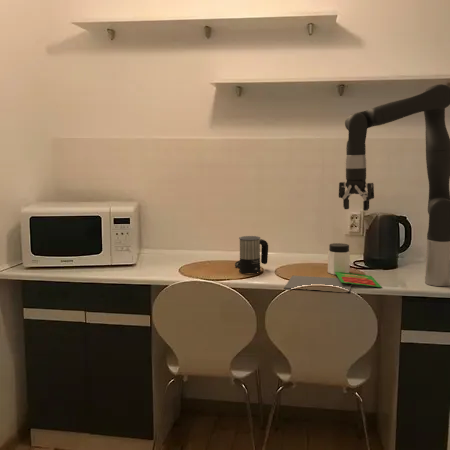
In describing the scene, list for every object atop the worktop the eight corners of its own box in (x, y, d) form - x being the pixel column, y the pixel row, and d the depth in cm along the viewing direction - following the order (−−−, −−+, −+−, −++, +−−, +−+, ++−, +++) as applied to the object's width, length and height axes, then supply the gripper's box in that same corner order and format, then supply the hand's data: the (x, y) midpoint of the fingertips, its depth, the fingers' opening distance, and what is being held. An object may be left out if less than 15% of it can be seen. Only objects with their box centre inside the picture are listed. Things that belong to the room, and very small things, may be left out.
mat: (352, 280, 232) (352, 279, 232) (349, 293, 213) (349, 291, 213) (292, 276, 238) (292, 275, 238) (284, 289, 219) (284, 287, 219)
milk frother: (252, 275, 241) (252, 240, 239) (222, 270, 251) (221, 236, 249) (271, 269, 253) (271, 235, 250) (241, 264, 262) (241, 232, 260)
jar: (328, 274, 241) (328, 246, 240) (327, 270, 249) (327, 243, 248) (350, 275, 240) (351, 246, 239) (348, 271, 248) (349, 243, 247)
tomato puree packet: (341, 281, 221) (334, 270, 240) (341, 284, 221) (334, 273, 241) (382, 286, 220) (372, 275, 240) (381, 289, 220) (371, 277, 240)
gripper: (378, 166, 218) (377, 209, 220) (345, 166, 228) (346, 207, 231) (366, 167, 213) (366, 212, 215) (334, 167, 223) (334, 209, 225)
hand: (356, 209), depth 223 cm, fingers open, 8 cm apart
